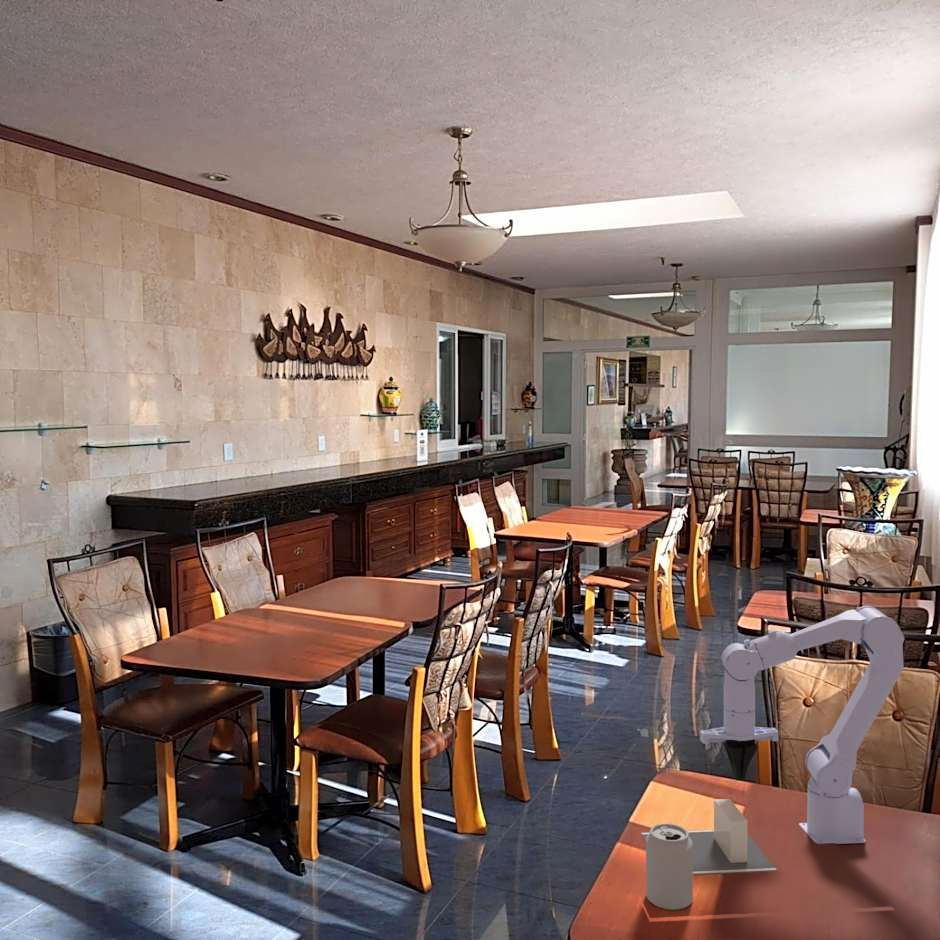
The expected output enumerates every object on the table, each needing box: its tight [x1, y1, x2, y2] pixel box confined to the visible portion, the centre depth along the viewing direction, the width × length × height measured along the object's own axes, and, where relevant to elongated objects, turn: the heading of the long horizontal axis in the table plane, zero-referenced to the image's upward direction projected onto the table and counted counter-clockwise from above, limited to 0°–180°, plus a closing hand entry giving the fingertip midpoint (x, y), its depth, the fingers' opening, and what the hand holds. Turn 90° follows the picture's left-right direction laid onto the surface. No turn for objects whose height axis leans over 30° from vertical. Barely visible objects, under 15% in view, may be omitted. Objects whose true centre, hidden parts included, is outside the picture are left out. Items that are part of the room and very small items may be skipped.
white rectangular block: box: [713, 798, 748, 863], centre depth 162 cm, size 3×9×8 cm, turn 3°
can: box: [645, 823, 694, 911], centre depth 146 cm, size 8×8×12 cm
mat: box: [640, 829, 778, 876], centre depth 162 cm, size 20×16×1 cm
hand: (738, 778), depth 170 cm, fingers closed
